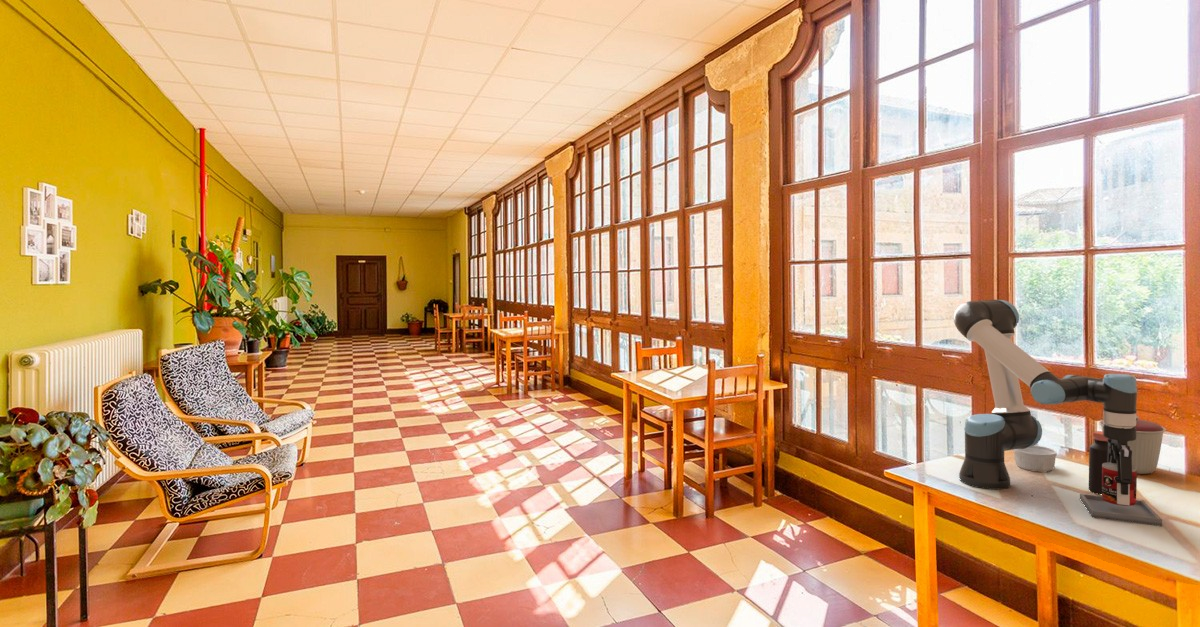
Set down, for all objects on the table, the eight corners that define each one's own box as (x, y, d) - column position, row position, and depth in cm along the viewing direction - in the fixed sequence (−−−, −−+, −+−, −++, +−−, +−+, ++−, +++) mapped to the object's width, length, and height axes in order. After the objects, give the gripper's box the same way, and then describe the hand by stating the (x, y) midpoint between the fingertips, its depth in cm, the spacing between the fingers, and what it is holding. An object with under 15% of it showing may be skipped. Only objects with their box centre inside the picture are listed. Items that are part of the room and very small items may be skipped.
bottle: (1084, 491, 195) (1086, 432, 194) (1093, 487, 199) (1094, 429, 198) (1110, 497, 189) (1112, 436, 188) (1118, 493, 193) (1120, 433, 192)
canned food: (1094, 497, 181) (1095, 463, 181) (1118, 496, 182) (1118, 461, 182) (1119, 507, 174) (1119, 470, 173) (1143, 505, 175) (1143, 469, 174)
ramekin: (1008, 467, 221) (1008, 449, 221) (1018, 459, 230) (1018, 442, 229) (1051, 475, 211) (1051, 456, 211) (1060, 467, 220) (1060, 449, 219)
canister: (1154, 481, 202) (1155, 421, 201) (1089, 468, 217) (1090, 412, 216) (1173, 471, 211) (1174, 413, 210) (1110, 459, 227) (1110, 405, 225)
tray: (1092, 517, 175) (1092, 510, 175) (1079, 499, 189) (1079, 493, 189) (1162, 526, 168) (1162, 519, 168) (1143, 506, 181) (1143, 500, 181)
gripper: (1148, 434, 166) (1146, 513, 167) (1125, 418, 184) (1124, 490, 185) (1113, 432, 170) (1112, 509, 171) (1094, 417, 188) (1094, 486, 189)
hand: (1118, 499), depth 178 cm, fingers closed on canned food, 8 cm apart
